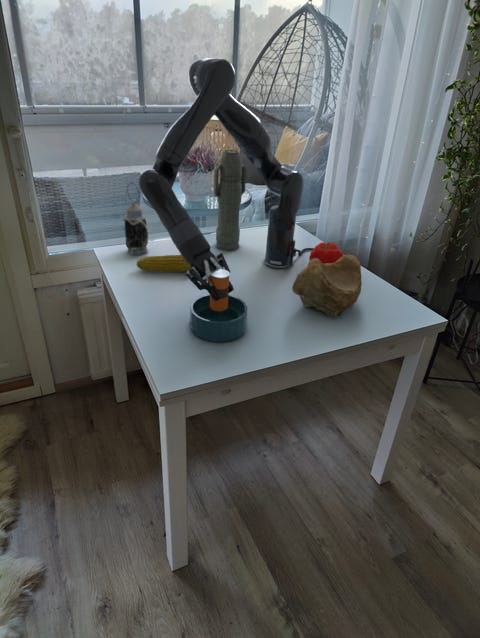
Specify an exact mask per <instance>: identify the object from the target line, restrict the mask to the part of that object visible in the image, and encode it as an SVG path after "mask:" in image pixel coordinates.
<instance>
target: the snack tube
mask: <svg viewBox="0 0 480 638" xmlns="http://www.w3.org/2000/svg"><path fill="white" fill-rule="evenodd" d="M230 276H231V272H230V273H229V271H227V270H225V269H224V268H223V269H217V268H216V269H215V270H212V271H211V279H212V282H213V286H214V285H215V287H216V289H217V290H218V292H219V293H220V295H221V296H222V298H221V299H219V300H218V301H215V300H214V299H212V297H211V295H210V308H211V309H212V310H214V311H224V310H226V309H227V308H228V295H230V293H229V281H230Z"/></svg>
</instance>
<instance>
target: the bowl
mask: <svg viewBox="0 0 480 638" xmlns="http://www.w3.org/2000/svg"><path fill="white" fill-rule="evenodd" d="M189 311H190V312H189V313H190V319H189V320H190V322H189V323H190V329H191V332H192V333H193V334H195V336H197V337H199V338H200V339H203V340H206V341H210V342H219V343H220V342H229V341H230V342H231V341H232V340H236V339H238V338H240V337H241V336H242V335H244V333H245V332H246V330H247V319H248V306H247V303H246V302H245V301H244V300H243V299H241V298H239V297H237V296H235V295H231V294H229V295H228V308H227V309H226V310H224V311H214V310H212V309H211V308H210V294H209V293H208V294H205V295H201V296H199V297H197V298H195V299H194V300H193V301H192V302H191V304H190V307H189Z"/></svg>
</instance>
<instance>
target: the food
mask: <svg viewBox="0 0 480 638" xmlns="http://www.w3.org/2000/svg"><path fill="white" fill-rule="evenodd" d="M136 267H137V268H138V269H139V270H142V271H143V272H155V273H156V272H157V273H158V272H159V273H176V272H178V273H179V272H180V273H181V272H182V273H183V272H185V273H186V272H187V271H188V270H190V269H191V265H190V263H187V262H186V261H185V259H184V258H183V256H182V255H181V254H171V255H170V254H169V255H153V256H145V257H143V258H140V259H139V260H137V261H136Z"/></svg>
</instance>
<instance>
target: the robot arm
mask: <svg viewBox="0 0 480 638" xmlns="http://www.w3.org/2000/svg"><path fill="white" fill-rule="evenodd" d="M188 83H189V86H190V88H191V90H192V91H193V93H194V94H195V96H196V98H195V100H194V102H193V103H192V104H191V106H189V108H188V109H187V110H186V111H185V112H184V113H183V114H182V115H181V116H180V117H179V118H178V119H177V120H176V121H175V122H174V123H173V124H172V126H171V127H170V128H169V130H168V131H167V133H166V134H165V135H164V136H165V137H164V138H163V139H162V142H161V143H160V145H159V147H158V148H157V151H156V154H155V161H154V164H153V165H152V168H148V169H146V170H144V171H142V172H141V174H140V175H139V177H138V189H139V190H140V192H141V193H142V195H143V196H144V198H145V199H146V201H147V202H148V203H149V204H150V206H151V207H152V209H153V210H154V211H155V213H156V214H157V216H158V218H159V221H160V223H161V224H162V226H163V227H164V229H165V230H166V232H167V233H168V235H169V237H170V239H171V241H172V243H173V244H174V246H175V247H176V249H177V250H178V252H179V254H180V255H182V256H183V258H184V259H185V261H186V262H187V263H190V265H191V269H190V270H188V271H185V274H184V275H185V276H186V277H187V278H188V279H189V280H190V281H191V283H192V284H193V285H194V286H195V288H197V289H198V290H199V291H203V290H205V291H206V292H208V294H210V295H211V297H212V299H214V300H215V301H218V300H219V299H221V298H222V296H221V295H220V293H219V292H218V290H217V289H216V287H215V285H214V286H213V282H212V279H211V271H212V270H215V269H224V270H227V271H229V273H230V274H231V269H230V267H229V265H228V263H227V260H226V258H225V256H224V254H223V253H222V252H220V253H219V254H216V255H215V254H214V253H213V252H212V251H211V245H210V243H209V242H208V240H207V239H206V237H205V236H204V234H203V233H202V231H201V229H200V228H199V226H198V225H197V223H195V221H194V220H193V219H192V217H191V216H190V214H189V213H188V211H187V209H186V208H185V207H184V206H183V204H182V202H180V200H179V199H178V197H177V195H176V194H175V192H174V190H173V186H174V184H175V181H176V179H177V176H178V173H179V171H180V169H181V167H182V166H183V164H184V162H185V160H186V158H187V157H188V155H189V154H190V152H191V149H192V147H193V146H194V144H195V143H196V141H197V139H198V138H199V137H200V135H201V133H202V132H203V131H204V129H205V127H206V126H207V125H208V124H209V122H210V121H211V120H212V118H213V117H214V116H215V117H216V119H218V121H219V123H220V124H221V125H222V126H223V127H224V129H225V130H226V132H227V133H228V135H230V137H231V138H232V140H233V141H234V142H235V144H236V146H237V147H238V148H239V149H240V150H241V152H242V153H243V154H244V155H245V157H246V158H247V159H248V161H249V162H250V163H251V165H252V166H253V167H254V168H255V169H256V170H257V172H258V174H259V175H260V177H261V178H262V180H263V182H264V184H265V185H266V187H267V189H268V190H269V192H270V193H272V194H273V195H275V196H277V197H279V201H278V204H276V205H273V206H271V207H270V208H269V212H268V222H267V224H268V225H267V236H266V248H265V255H264V256H265V257H264V264H265V265H266V266H267V267H270V268H274V269H286V268H289V267H291V266H293V264H294V263H293V262H294V257H296V255H297V253H298V256H301V255H303V253H304V252H305V251H312V250H313V249H314V248H315V247H305V248H303V249H302V250H300V249H297V248H296V240H295V239H294V237H295V230H296V222H297V215H298V213H299V210H300V208H301V202H302V197H303V192H304V177H303V175H302V173H301V172H299V171H297V170H294V169H291V168H288V167H286V166H284V165H283V164H282V163H281V162H280V161H279V160H278V159H277V157H276V156H275V154H274V153H273V145H272V144H273V143H272V138H271V135H270V133H269V132H268V130H267V128H266V127H265V126H264V124H263V123H262V121H261V119H259V117H258V116H257V115H256V114H254V113H253V112H252V111H251V110H250V109H248V108H247V107H246V106H245V105H243V104H242V103H240V102H239V101H238V100H237V99H236V98H235V97H233V95H232V94H231V93H232V91H233V89H234V87H235V84H236V72H235V68H234V66H233V64H232V63H231V62H230V61H229V60H227V59H225V58H221V57H208V58H200V59H197V60H195V61H193V62H192V64H191V65H190V66H189V69H188ZM327 243H328V244H330V242H327ZM234 290H235V288H234V286H233V284H232V283H231V281H230V280H229V294H231V293H232V292H234Z"/></svg>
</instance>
